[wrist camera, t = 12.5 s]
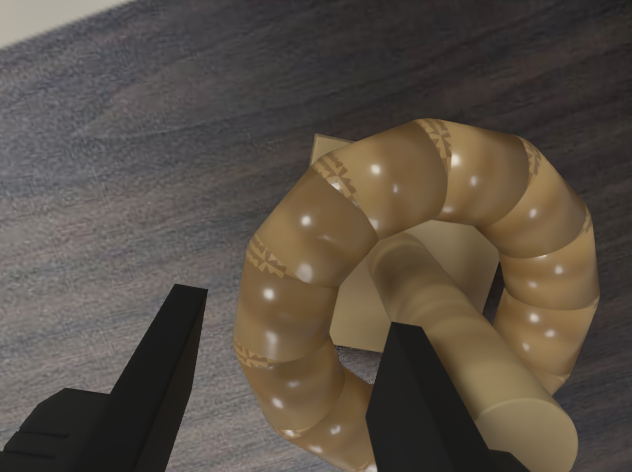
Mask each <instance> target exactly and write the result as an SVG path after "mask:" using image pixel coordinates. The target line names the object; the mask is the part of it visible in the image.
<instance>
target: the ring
mask: <svg viewBox="0 0 632 472" xmlns="http://www.w3.org/2000/svg"><path fill="white" fill-rule="evenodd" d="M430 220H436V221H443V222H450V223H457V224H464V225H471V226H474V227H475V228H476V229H477V230H478V231H479V232H480V233H481V234H482V235H483V236H484V237H485V238H486V239H487V240H488V241H490V242H491V243H492V244H493V245H494V246H495V247H496V248H497V249H498V254H499V259H500V264H501V269H502V274H503V279H504V284H505V287H504V290H503V293H502V296H501V299H500V302H499V305H498V308H497V311H496V315H495V318H494V321H493V324H492V326H493V327H494V329H495V330H496V331H497V332H498V333H499V335H500V336H501V337H502V338H503V339H504V340H505V342H506V343H507V344H508V345H509V346H510V348H511V349H512V350H513V351H514V352H515V353H516V355H517V356H518V357H519V358H520V359H521V360H522V362H523V363H524V364H525V365H526V366H527V368H528V369H529V370H530V371H531V372H532V373H533V375H534V376H535V377H536V378H537V379H538V380H539V382H540V383H541V384H542V385H543V386H544V388H545V389H546V390H547V391H548V392H549V393H550V395H551V396H552V395H553V394H554V393H555V392H556V391H557V390H558V389H559V388H560V387H561V386H562V385H563V384H564V383H565V381H566V380H567V379H568V378H569V376H570V374H571V372H572V370H573V368H574V365H575V363H576V360H577V358H578V355H579V352H580V350H581V347H582V345H583V342H584V340H585V337H586V334H587V332H588V329H589V327H590V324H591V322H592V319H593V317H594V314H595V311H596V309H597V306H598V303H599V299H600V285H599V276H598V267H597V259H596V250H595V241H594V233H593V224H592V219H591V215H590V212H589V210H588V208H587V206H586V204H585V203H584V201H583V200H582V199H581V198H580V197H579V195H578V194H577V193H576V192H575V191H574V190H573V189H572V188H571V186H570V185H569V184H568V183H567V182H566V181H565V180H564V179H563V177H562V176H561V175H560V174H559V173H558V172H557V171H556V170H555V168H554V167H553V166H552V165H551V164H550V163H549V162H548V161H547V159H546V158H545V157H544V156H543V155H542V154H541V153H540V152H539V150H538V149H537V148H536V147H535V146H534V145H532V144H531V143H530V142H529V141H527V140H525V139H523V138H521V137H519V136H516V135H512V134H509V133H504V132H499V131H494V130H489V129H484V128H479V127H474V126H469V125H464V124H459V123H455V122H450V121H445V120H440V119H433V118H423V119H416V120H413V121H409V122H407V123H404V124H401V125H399V126H396V127H393V128H391V129H388V130H386V131H383V132H380V133H378V134H375V135H372V136H370V137H367V138H365V139H362V140H359V141H357V142H354V143H351V144H349V145H346V146H344V147H341V148H338V149H336V150H333V151H331V152H329V153H326V154H325V155H323V156H322V157H320V158H319V159H317V160H316V161H315V162H314V163H313V164H312V165H311V166H310V167H309V168H308V170H307V171H306V172H305V173H304V174H303V176H302V177H301V178H300V179H299V180H298V181H297V183H296V184H295V185H294V186H293V187H292V189H291V190H290V191H289V192H288V193H287V195H286V196H285V197H284V198H283V199H282V201H281V202H280V203H279V204H278V205H277V207H276V208H275V209H274V210H273V211H272V212H271V214H270V215H269V216H268V217H267V218H266V220H265V221H264V222H263V223H262V224H261V226H260V227H259V228H258V229H257V230H256V232H255V233H254V235H253V236H252V238H251V239H250V242H249V244H248V247H247V250H246V254H245V260H244V266H243V272H242V278H241V284H240V290H239V296H238V302H237V308H236V314H235V320H234V326H233V336H232V339H233V340H232V341H233V347H234V351H235V354H236V357H237V359H238V361H239V363H240V365H241V367H242V370H243V372H244V374H245V376H246V378H247V380H248V382H249V384H250V387H251V389H252V391H253V393H254V395H255V397H256V399H257V401H258V404H259V406H260V408H261V410H262V412H263V414H264V416H265V418H266V420H267V422H268V423H269V425H270V426H271V427H272V429H273V430H274V431H275V432H276V433H278V434H279V435H280V436H282V437H283V438H285V439H287V440H288V441H290V442H292V443H294V444H296V445H297V446H299V447H301V448H303V449H304V450H306V451H308V452H310V453H312V454H313V455H315V456H317V457H319V458H321V459H322V460H324V461H326V462H328V463H329V464H331V465H333V466H335V467H337V468H338V469H340V470H342V471H345V472H377V468H376V463H375V459H374V454H373V450H372V445H371V441H370V437H369V432H368V428H367V423H366V419H365V415H366V412H367V408H368V405H369V401H370V397H371V394H372V390H373V386H374V384H369V383H367V382H366V381H364V380H363V379H362V378H360V377H359V376H357V375H356V374H354V373H353V372H351V371H350V370H348V369H347V368H345V367H344V366H342V365H341V362H340V360H339V357H338V354H337V352H336V349H335V346H334V344H333V341H332V338H331V336H330V333H329V331H330V327H331V323H332V318H333V314H334V309H335V305H336V301H337V296H338V292H339V288H340V285H341V284H342V283H343V282H344V280H345V279H346V278H347V277H348V276H349V275H350V274H351V272H352V271H353V270H354V269H355V268H356V267H357V266H358V264H359V263H360V262H361V261H362V260H363V259H364V258H365V256H366V255H367V254H368V253H369V252H370V251H371V250H372V248H373V247H374V246H375V245H376V244H377V243H378V242H379V241H380V240H382V239H385V238H387V237H390V236H392V235H395V234H397V233H400V232H402V231H405V230H407V229H410V228H412V227H415V226H417V225H420V224H422V223H425V222H427V221H430Z"/></svg>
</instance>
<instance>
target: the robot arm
mask: <svg viewBox="0 0 632 472" xmlns="http://www.w3.org/2000/svg"><path fill="white" fill-rule="evenodd" d="M207 292H208V289H203V288H197V287H191V286H186V285H180V284H175V285H174V286H173V288H172V290H171V291H170V293H169V295H168V296H167V298H166V300H165V301H164V303H163V305H162V306H161V308H160V310H159V312H158V313H157V315H156V317H155V318H154V320H153V322H152V323H151V325H150V327H149V328H148V330H147V332H146V333H145V335H144V337H143V339H142V340H141V342H140V344H139V345H138V347H137V349H136V350H135V352H134V354H133V355H132V357H131V359H130V361H129V362H128V364H127V366H126V367H125V369H124V371H123V372H122V374H121V376H120V377H119V379H118V381H117V382H116V384H115V386H114V388H113V389H112V391H111V393H110V394H104V393H97V392H91V391H84V390H77V389H70V388H64V389H63V390H61V391H59V392H58V393H56V394H54V395H53V396H51V397H49V398H48V399H46V400H44V401H43V402H41V403H40V404H38V405H37V406H36V408H35V409H34V410H33V411H32V413H31V414H30V415H29V416H28V418H27V419H26V420H25V421H24V423H23V424H22V425H21V426H20V429H19V431H18V432H17V431H16V433H15V434H14V435H13V436H12V438H11V439H10V440H9V441H8V443H7V444H6V445H5V447H4V450H3V452H2V451H0V472H165V470H166V467H167V464H168V461H169V457H170V454H171V451H172V448H173V445H174V442H175V439H176V436H177V433H178V430H179V427H180V424H181V421H182V418H183V415H184V412H185V409H186V406H187V403H188V400H189V397H190V393H191V390H192V384H193V378H194V372H195V366H196V360H197V354H198V347H199V341H200V335H201V329H202V323H203V317H204V311H205V305H206V299H207ZM365 419H366V423H367V428H368V432H369V437H370V441H371V445H372V450H373V454H374V459H375V463H376V468H377V472H531V471H530V470H528V469H527V468H526V467H525V466H524V465H523V464H522V463H521V462H520V461H519V460H518V459H517V458H516V457H515V456H514V455H513V454H512V453H511V452H506V451H499V450H493V449H489V448H488V446H487V445H486V443H485V441H484V439H483V437H482V435H481V434H480V432H479V430H478V428H477V426H476V425H475V423H474V421H473V419H472V417H471V415H470V414H469V412H468V410H467V408H466V406H465V405H464V403H463V401H462V399H461V397H460V395H459V394H458V392H457V390H456V388H455V386H454V385H453V383H452V381H451V379H450V377H449V375H448V374H447V372H446V370H445V368H444V366H443V365H442V363H441V361H440V359H439V357H438V355H437V354H436V352H435V350H434V348H433V346H432V345H431V343H430V341H429V339H428V337H427V335H426V334H425V332H424V330H423V328H422V327H421V326H415V325H410V324H404V323H398V322H392V321H391V325H390V329H389V332H388V336H387V339H386V343H385V347H384V350H383V354H382V358H381V361H380V365H379V368H378V372H377V376H376V379H375V383H374V386H373V390H372V394H371V397H370V401H369V405H368V408H367V412H366V415H365Z"/></svg>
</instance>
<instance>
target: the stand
mask: <svg viewBox="0 0 632 472" xmlns="http://www.w3.org/2000/svg"><path fill="white" fill-rule="evenodd" d="M354 142H356V141H351V140H346V139H342V138H337V137H332V136H327V135H323V134H318V133H316V134H315V137H314V142H313V147H312V152H311V157H310V161H309V166H308V168H309V167H310V166H311V165H312V164H313V163H314V162H315V161H316V160H317V159H319V158H320V157H322V156H323V155H325V154H326V153H329V152H331V151H333V150H336V149H338V148H341V147H344V146H346V145H349V144H351V143H354ZM499 261H500V259H499V254H498V249H497V248H496V247H495V246H494V245H493V244H492V243H491V242H490V241H488V240H487V239H486V238H485V237H484V236H483V235H482V234H481V233H480V232H479V231H478V230H477V229H476V228H475V227H474V226H471V225H464V224H457V223H450V222H443V221H436V220H430V221H427V222H425V223H422V224H420V225H417V226H415V227H412V228H410V229H407V230H405V231H402V232H400V233H397V234H395V235H392V236H390V237H387V238H385V239H382V240H380V241H379V242H378V243H377V244H376V245H375V246H374V247H373V248H372V250H371V251H370V252H369V253H368V254H367V255H366V256H365V258H364V259H363V260H362V261H361V262H360V263H359V264H358V266H357V267H356V268H355V269H354V270H353V271H352V272H351V274H350V275H349V276H348V277H347V278H346V279H345V280H344V282H343V283H342V284H341V285H340V288H339V292H338V296H337V301H336V305H335V309H334V314H333V318H332V323H331V327H330V331H329V333H330V336H331V338H332V341H333V344H334V345H340V346H346V347H352V348H358V349H364V350H370V351H376V352H382V353H383V350H384V347H385V343H386V339H387V336H388V332H389V329H390V325H391V321H392V322H398V323H404V324H410V325H415V326H421V327H422V328H423V330H424V332H425V334H426V335H427V337H428V339H429V341H430V343H431V345H432V346H433V348H434V350H435V352H436V354H437V355H438V357H439V359H440V361H441V363H442V365H443V366H444V368H445V370H446V372H447V374H448V375H449V377H450V379H451V381H452V383H453V385H454V386H455V388H456V390H457V392H458V394H459V395H460V397H461V399H462V401H463V403H464V405H465V406H466V408H467V410H468V412H469V414H470V415H471V417H472V419H473V421H474V423H475V425H476V426H477V428H478V430H479V432H480V434H481V435H482V437H483V439H484V441H485V443H486V445H487V446H488V448H489V449H493V450H499V451H506V452H511V453H512V454H513V455H514V456H515V457H516V458H517V459H518V460H519V461H520V462H521V463H522V464H523V465H524V466H525V467H526V468H527V469H528V470H530V471H531V472H569V471H570V470H571V468H572V466H573V464H574V462H575V459H576V456H577V451H578V437H577V432H576V428H575V426H574V424H573V422H572V420H571V419H570V417H569V416H568V415H567V413H566V412H565V411H564V410H563V409H562V408H561V406H560V405H559V404H558V403H557V402H556V400H555V399H554V398H553V397H552V396H551V395H550V393H549V392H548V391H547V390H546V389H545V388H544V386H543V385H542V384H541V383H540V382H539V380H538V379H537V378H536V377H535V376H534V375H533V373H532V372H531V371H530V370H529V369H528V368H527V366H526V365H525V364H524V363H523V362H522V360H521V359H520V358H519V357H518V356H517V355H516V353H515V352H514V351H513V350H512V349H511V348H510V346H509V345H508V344H507V343H506V342H505V340H504V339H503V338H502V337H501V336H500V335H499V333H498V332H497V331H496V330H495V329H494V327H493V326H492V325H491V324H490V323H489V322H488V320H487V319H486V318H485V317H484V316H483V315H482V312H483V309H484V306H485V303H486V300H487V297H488V294H489V291H490V288H491V285H492V282H493V279H494V276H495V273H496V270H497V267H498V264H499Z"/></svg>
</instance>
